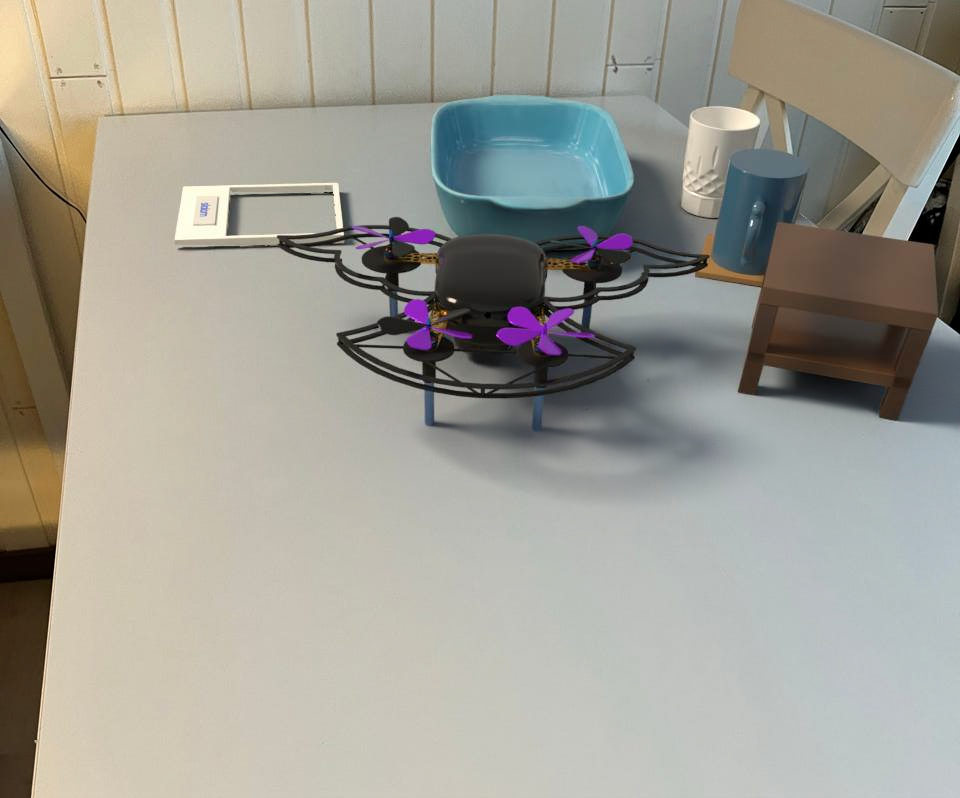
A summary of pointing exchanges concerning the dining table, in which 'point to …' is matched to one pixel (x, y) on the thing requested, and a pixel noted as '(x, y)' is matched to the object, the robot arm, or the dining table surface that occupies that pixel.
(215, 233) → the photo frame
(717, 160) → the white cup
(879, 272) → the walnut side table
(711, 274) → the cork mat
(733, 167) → the mug
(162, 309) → the dining table surface
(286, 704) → the dining table surface
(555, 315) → the drone
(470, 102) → the casserole dish
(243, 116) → the dining table surface
